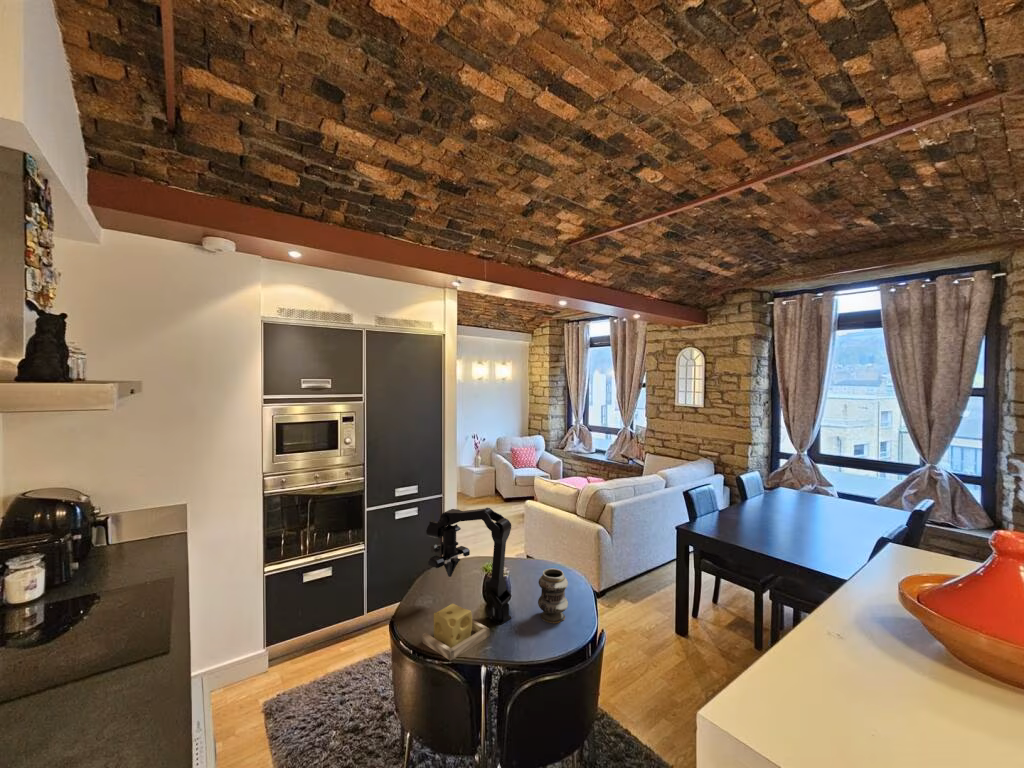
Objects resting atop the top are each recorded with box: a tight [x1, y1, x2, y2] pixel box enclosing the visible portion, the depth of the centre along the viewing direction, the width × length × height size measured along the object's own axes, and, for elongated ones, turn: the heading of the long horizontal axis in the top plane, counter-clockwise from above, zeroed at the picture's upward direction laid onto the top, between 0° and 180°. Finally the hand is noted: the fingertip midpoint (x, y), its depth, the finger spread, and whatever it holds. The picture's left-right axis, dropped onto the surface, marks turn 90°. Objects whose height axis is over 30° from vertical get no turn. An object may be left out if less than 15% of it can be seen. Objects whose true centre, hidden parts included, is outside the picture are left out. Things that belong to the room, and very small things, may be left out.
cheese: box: [433, 603, 473, 648], centre depth 161 cm, size 10×11×10 cm
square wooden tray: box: [422, 618, 490, 661], centre depth 161 cm, size 16×19×3 cm
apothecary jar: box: [537, 567, 569, 624], centre depth 176 cm, size 12×12×18 cm
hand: (449, 576), depth 186 cm, fingers closed
